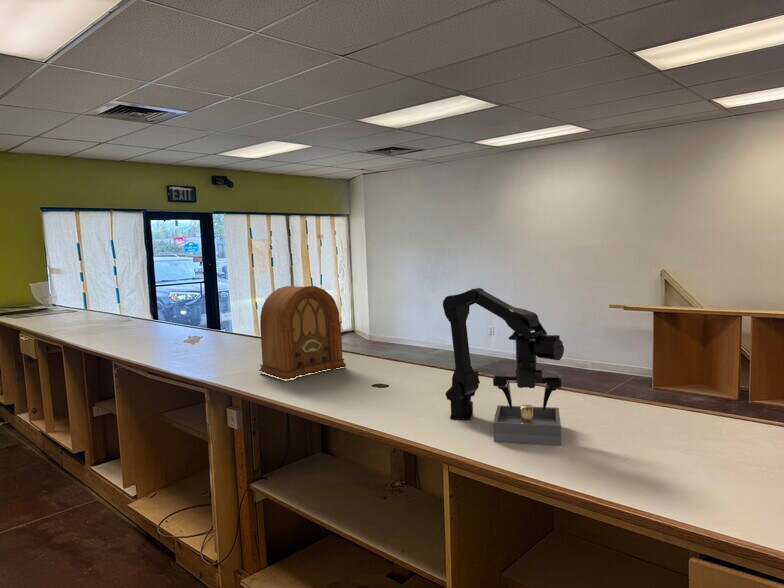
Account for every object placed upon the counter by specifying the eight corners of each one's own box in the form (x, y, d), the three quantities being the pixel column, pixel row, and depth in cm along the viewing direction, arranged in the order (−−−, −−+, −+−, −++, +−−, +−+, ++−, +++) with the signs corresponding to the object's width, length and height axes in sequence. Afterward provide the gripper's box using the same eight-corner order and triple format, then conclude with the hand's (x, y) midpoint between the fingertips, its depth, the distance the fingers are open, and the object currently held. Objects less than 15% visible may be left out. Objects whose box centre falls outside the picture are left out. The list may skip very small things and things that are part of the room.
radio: (285, 382, 222) (279, 289, 219) (259, 374, 239) (253, 288, 236) (346, 367, 244) (341, 283, 241) (318, 361, 261) (313, 282, 258)
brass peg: (521, 435, 149) (520, 408, 148) (521, 430, 152) (520, 404, 152) (533, 435, 148) (532, 408, 147) (533, 431, 151) (532, 404, 151)
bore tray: (493, 441, 145) (493, 422, 145) (498, 422, 160) (497, 405, 160) (561, 445, 140) (560, 425, 140) (559, 425, 155) (558, 407, 155)
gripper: (490, 361, 143) (492, 416, 144) (561, 362, 138) (562, 419, 139) (494, 353, 154) (495, 404, 155) (559, 354, 148) (560, 407, 150)
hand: (527, 409), depth 150 cm, fingers open, 9 cm apart
